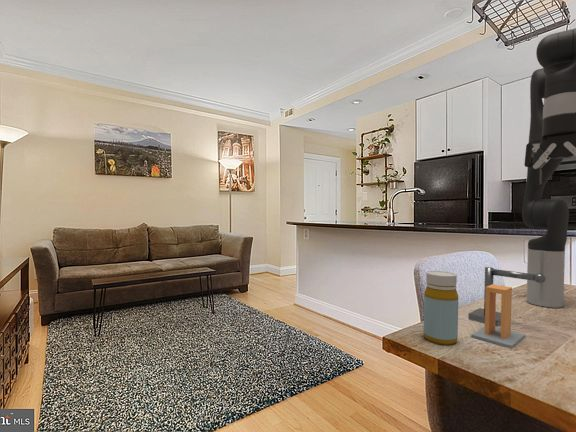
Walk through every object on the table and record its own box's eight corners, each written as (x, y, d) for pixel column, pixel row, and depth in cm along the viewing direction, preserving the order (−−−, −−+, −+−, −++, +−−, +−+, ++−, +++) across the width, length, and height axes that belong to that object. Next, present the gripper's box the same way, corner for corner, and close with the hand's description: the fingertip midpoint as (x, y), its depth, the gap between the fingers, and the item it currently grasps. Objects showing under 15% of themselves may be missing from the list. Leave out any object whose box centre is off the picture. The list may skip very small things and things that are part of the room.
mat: (486, 327, 82) (487, 324, 82) (525, 337, 76) (525, 334, 76) (471, 337, 75) (471, 334, 75) (511, 348, 69) (511, 345, 69)
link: (484, 333, 76) (485, 286, 75) (491, 329, 78) (492, 284, 78) (504, 339, 73) (505, 290, 72) (510, 334, 75) (511, 287, 75)
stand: (479, 313, 93) (480, 263, 93) (548, 328, 81) (550, 272, 81) (468, 319, 88) (469, 266, 88) (540, 336, 76) (541, 276, 76)
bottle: (454, 335, 76) (456, 271, 76) (459, 347, 69) (461, 277, 69) (422, 331, 78) (423, 269, 78) (424, 343, 72) (425, 275, 71)
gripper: (522, 119, 81) (520, 184, 81) (601, 105, 70) (599, 180, 71) (530, 124, 86) (529, 185, 86) (605, 112, 75) (603, 182, 75)
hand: (560, 183), depth 78 cm, fingers open, 8 cm apart
